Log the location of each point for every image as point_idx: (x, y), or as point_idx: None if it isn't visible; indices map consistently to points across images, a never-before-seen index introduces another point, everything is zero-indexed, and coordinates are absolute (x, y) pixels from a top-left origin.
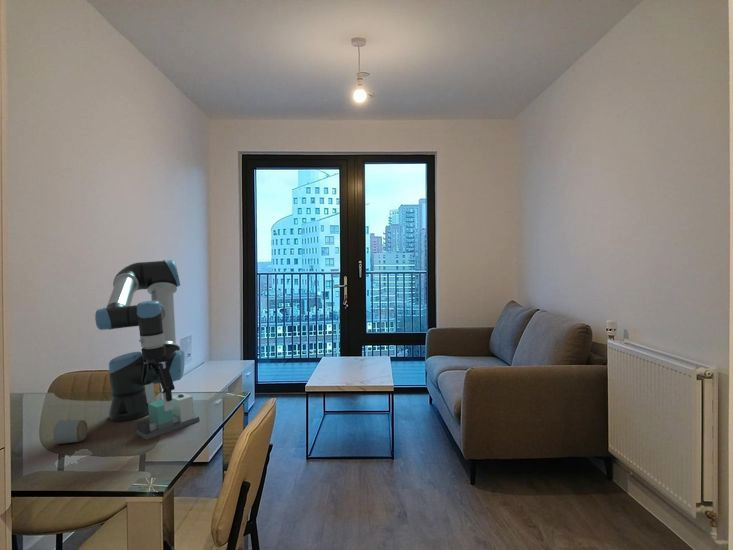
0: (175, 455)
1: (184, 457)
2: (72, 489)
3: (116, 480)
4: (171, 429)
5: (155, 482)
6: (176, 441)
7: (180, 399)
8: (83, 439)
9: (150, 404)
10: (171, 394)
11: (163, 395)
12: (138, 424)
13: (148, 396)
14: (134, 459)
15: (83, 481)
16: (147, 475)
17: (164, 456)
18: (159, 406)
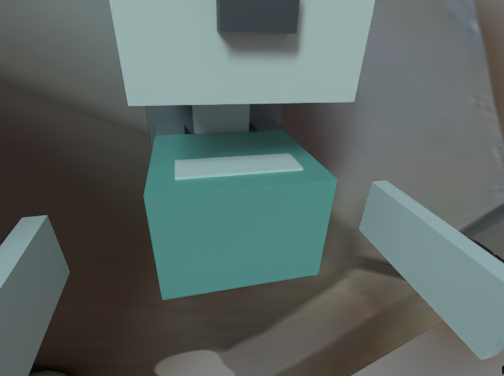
0: (460, 207)
1: (493, 195)
2: (362, 367)
3: (413, 318)
4: None
5: None
6: (388, 165)
7: (343, 75)
8: (62, 374)
9: (207, 290)
10: (493, 259)
11: (461, 325)
12: None
13: (43, 316)
14: (366, 282)
15: (352, 356)
16: None
17: None
18: (319, 259)
